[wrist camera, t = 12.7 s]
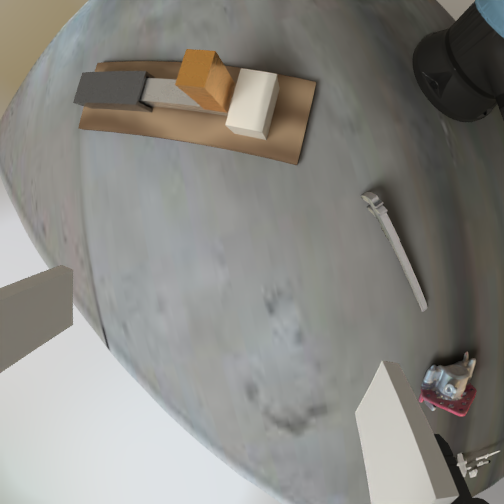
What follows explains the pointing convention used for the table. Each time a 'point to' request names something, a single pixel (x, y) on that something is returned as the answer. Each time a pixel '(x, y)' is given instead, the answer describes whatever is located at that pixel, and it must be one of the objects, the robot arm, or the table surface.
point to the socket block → (253, 103)
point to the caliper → (394, 243)
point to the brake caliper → (449, 386)
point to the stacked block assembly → (193, 86)
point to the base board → (210, 117)
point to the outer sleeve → (112, 90)
